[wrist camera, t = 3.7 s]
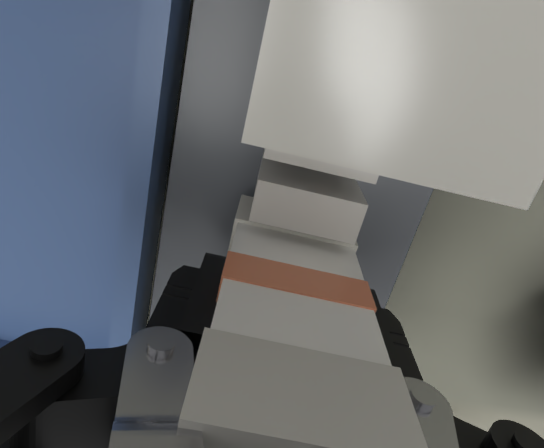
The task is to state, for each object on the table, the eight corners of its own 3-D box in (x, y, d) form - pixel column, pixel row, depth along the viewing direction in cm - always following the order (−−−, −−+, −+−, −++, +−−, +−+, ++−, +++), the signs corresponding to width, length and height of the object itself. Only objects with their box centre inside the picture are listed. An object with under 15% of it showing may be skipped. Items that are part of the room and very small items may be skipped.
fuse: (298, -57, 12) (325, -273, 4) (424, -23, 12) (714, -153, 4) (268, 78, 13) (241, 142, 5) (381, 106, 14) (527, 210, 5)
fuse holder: (223, -135, 12) (187, -237, 8) (511, -55, 13) (633, -105, 8) (143, 405, 21) (104, 506, 17) (317, 439, 22) (326, 545, 17)
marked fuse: (241, 194, 14) (179, 418, 6) (349, 219, 14) (435, 467, 6) (221, 286, 16) (148, 569, 7) (319, 307, 16) (355, 604, 8)
